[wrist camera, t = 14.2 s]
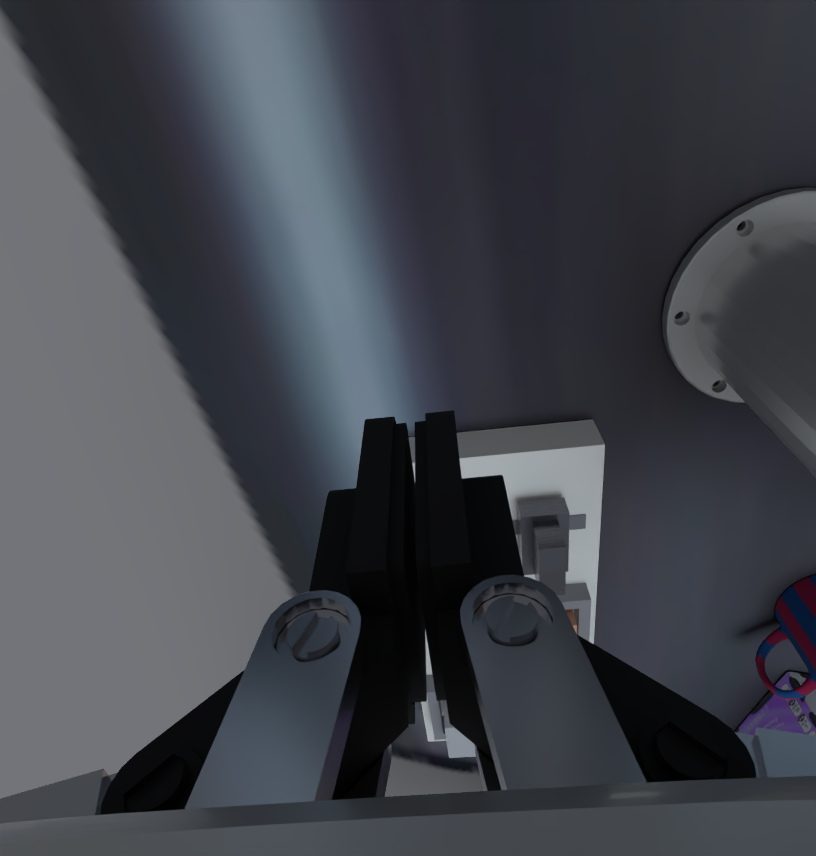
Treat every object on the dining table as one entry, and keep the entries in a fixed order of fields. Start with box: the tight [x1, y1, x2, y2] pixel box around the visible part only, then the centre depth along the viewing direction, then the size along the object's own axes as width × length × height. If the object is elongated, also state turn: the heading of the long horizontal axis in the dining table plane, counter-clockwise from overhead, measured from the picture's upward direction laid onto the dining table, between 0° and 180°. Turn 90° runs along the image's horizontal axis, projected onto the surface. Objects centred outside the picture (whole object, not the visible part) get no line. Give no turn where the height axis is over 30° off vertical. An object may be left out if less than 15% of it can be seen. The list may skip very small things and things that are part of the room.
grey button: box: [443, 700, 476, 758], centre depth 49 cm, size 4×4×2 cm
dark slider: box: [517, 497, 570, 595], centre depth 39 cm, size 3×5×4 cm, turn 7°
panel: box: [409, 419, 605, 741], centre depth 47 cm, size 14×30×5 cm, turn 7°
